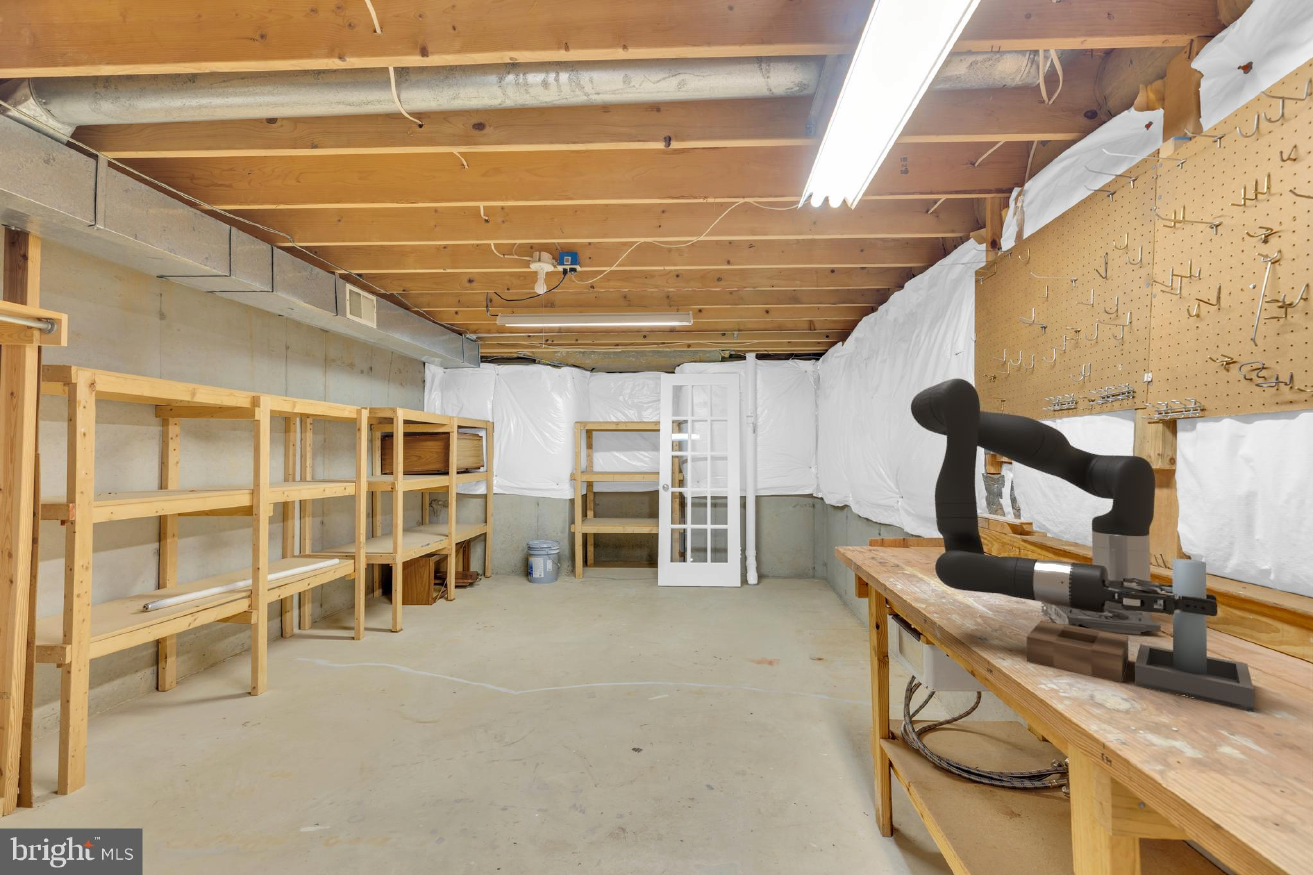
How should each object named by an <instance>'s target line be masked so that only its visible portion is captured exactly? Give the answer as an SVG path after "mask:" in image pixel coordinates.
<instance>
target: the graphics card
mask: <svg viewBox="0 0 1313 875" xmlns="http://www.w3.org/2000/svg"><path fill="white" fill-rule="evenodd" d="M1041 616H1047V617H1048V618H1049V622H1053V623H1059V624H1065V625H1070V626H1076V627H1080V625H1082V626H1083V627H1082V626H1081V627H1082V628H1087V629H1093V630H1099V631H1104V632H1110V633H1116V634H1130V635H1142V634H1141V633H1145V632H1147V631H1149V632H1157V633H1159V632H1161V629H1162V628H1161V626H1162V624H1161V623H1157V622H1156V623H1155V622H1154V621H1153V619H1152V618H1151V619H1150V618H1147V617H1145V616H1142V612H1137V611H1126V610H1115V609H1107V610H1106V612H1105V613H1097V612H1091V611H1085V610H1079V609H1073V608H1067V607H1061V606H1055V605H1050V604H1047V603H1043V602H1041ZM1084 626H1085V627H1084Z"/></svg>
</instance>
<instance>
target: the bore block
mask: <svg viewBox="0 0 1313 875" xmlns="http://www.w3.org/2000/svg"><path fill="white" fill-rule="evenodd" d="M1028 661H1029V663H1033V664H1037V665H1043V666H1046V667H1051V668H1055V669H1060V670H1065V671H1069V672H1074V673H1078V674H1082V675H1087V676H1091V677H1095V678H1100V679H1104V680H1105V679H1106V680H1109V681H1114V682H1119V683H1123V682H1124V681H1123V680H1124V676H1125V673H1126V670H1127V666H1128V664H1129V635H1126V634H1122V633H1117V632H1106V631H1099V630H1093V629H1087V628H1086V627H1084V628H1082V626H1081V627H1080V626H1079V627H1076V626H1070V625H1065V624H1059V623H1055V622H1051V621H1048V620H1042V619H1040V620H1039V622H1038V623H1037V624H1036V625H1035V627H1034V628H1033V629H1032V630H1031V631H1030V633H1029V634H1028V635H1027V636H1026V662H1028Z"/></svg>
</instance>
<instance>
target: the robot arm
mask: <svg viewBox="0 0 1313 875" xmlns="http://www.w3.org/2000/svg"><path fill="white" fill-rule="evenodd" d="M978 393H979V392H978V391H977V389H976V387H974V385H973V384H972V383H971V382H969V381H968V380H966V379H963V378H958V377H957V378H952V379H951V378H950V379H947V380H944V381H942V382H940V383H938V384H935V385H932V386H929V387H927V388H924V389H923V390H922V391H919V392H918V393H917V394H916V395H915V396H914V397H913V399H912V400H911V403H910V412H911V414H912V417H913V419H914V420H915V422H916V423H918V426H919V425H920V427H922V428H924V429H925V430H927V431H929V432H932V433H935V434H939V435H942V436H944V437H945V436H946V447H945V453H944V458H943V461H942V464H941V467H940V471H939V473H938V476H937V479H936V484H935V489H934V506H935V509H934V510H935V519H936V520H935V521H936V527H937V531H938V533H939V534H940V535H941V536H942V539H943V544H944V553H941V554H940V556H938V558H937V559H936V561H935V565H934V566H935V568H934V569H935V574H936V576H937V577H938V579H939V581H941V582H942V583H943V584H944V585H945V586H947V587H949V588H952V589H954V590H960V591H967V592H976V593H987V594H997V595H1003V596H1007V597H1011V598H1017V599H1023V600H1029V601H1034V602H1041V603H1042V602H1043V603H1047V604H1050V605H1055V606H1061V607H1067V608H1073V609H1079V610H1085V611H1091V612H1097V613H1105V612H1106V610H1107V609H1115V610H1126V611H1137V612H1142V616H1145V617H1147V618H1150V619H1151V620H1152V615H1151V614H1152V613H1156V614H1165V615H1170V616H1171V615H1173V614H1174V613H1180V612H1181V610H1182V612H1188V613H1195V614H1201V615H1206V616H1209V617H1216V616H1217V615H1218V602H1217V601H1218V600H1217V597H1216V595H1214V594H1212V593H1206V599H1203V598H1196V597H1188V596H1181V598H1180V595H1177V594H1174V593H1173V584H1167V583H1160V582H1155V581H1151V548H1150V547H1151V546H1150V544H1151V543H1150V540H1151V538H1150V528H1151V525H1152V522H1153V520H1154V516H1155V515H1154V514H1155V496H1156V477H1155V476H1156V475H1155V472H1154V469H1153V467H1152V464H1151V463H1150V462H1149V461H1148V460H1147V459H1146V458H1144V457H1143V456H1142V457H1141V456H1137V455H1119V454H1118V455H1111V454H1108V455H1103V454H1097V453H1092V452H1090V451H1085V450H1083V449H1079V448H1077V447H1075V446H1073V445H1072V444H1070V441H1069V440H1068V438H1067V437H1066V436H1065V434H1064V433H1063V432H1061V431H1060V430H1058V429H1057V428H1055V427H1053V426H1051V425H1048V424H1046V423H1044V422H1041V421H1039V420H1037V419H1034V418H1031V417H1027V416H1023V415H1017V414H1011V413H1001V412H991V411H985V410H981V402H980V401H981V400H980V396H979V394H978ZM978 447H979V448H981V449H984V450H986V451H989V452H991V453H994V454H996V455H999V456H1001V457H1003V458H1006V459H1008V460H1010V461H1013V462H1015V463H1018V464H1020V465H1023V466H1025V467H1028V468H1030V469H1034V470H1035V471H1039V472H1041V473H1044V474H1047V475H1050V476H1054V477H1057V478H1060V479H1061V480H1063V481H1065V482H1068V483H1069V484H1071V485H1073V486H1074V487H1076V488H1079V489H1080V490H1082V491H1084V492H1085V493H1088V494H1089V495H1091V496H1094V497H1097V498H1101V499H1107V500H1108V499H1109V500H1112V506H1111V509H1110V510H1109V511H1108V512H1107V513H1104V514H1101V515H1097V516H1094V517H1093V518H1092V520H1091V542H1092V543H1091V544H1092V546H1091V548H1092V564H1091V563H1082V562H1075V561H1067V560H1058V559H1037V558H1028V557H1022V556H1021V557H1018V556H995V555H990V554H985V550H984V545H983V541H982V537H981V534H980V530H979V519H978V518H979V514H978V503H977V495H976V494H977V493H976V464H977V453H978Z"/></svg>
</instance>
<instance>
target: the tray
mask: <svg viewBox="0 0 1313 875" xmlns="http://www.w3.org/2000/svg"><path fill="white" fill-rule="evenodd" d="M1134 677H1135V678H1134V685H1135V686H1137V687H1140V686H1142V687H1141V688H1146V689H1149V688H1151V689H1150V690H1154V689H1155V691H1158V690H1160V691H1159V692H1163V693H1167V692H1169V694H1172V695H1176V694H1178V695H1177V696H1181V695H1185V696H1188V697H1187V698H1190V697H1194V698H1196V699H1195V700H1198V699H1200V701H1204V702H1208V703H1213V704H1217V705H1221V706H1226V707H1231V708H1235V709H1240V710H1244V711H1248V712H1254V713H1255V696H1254V695H1255V694H1254V693H1255V692H1254V685H1253V682H1252V677H1251V673H1250V670H1249V665H1248V663H1246V662H1240V661H1235V660H1229V659H1225V658H1219V657H1218V658H1217V657H1214V656H1213V657H1212V656H1208V655H1207V674H1205V675H1198V674H1191V673H1187V672H1183V671H1180V670H1177V669H1175V668H1174V667H1173V649H1169V648H1163V647H1158V646H1154V645H1148V644H1142V643H1140V644H1139V648H1138V651H1137V656H1136V659H1135V663H1134ZM1185 696H1184V697H1185ZM1194 698H1193V699H1194Z"/></svg>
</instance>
